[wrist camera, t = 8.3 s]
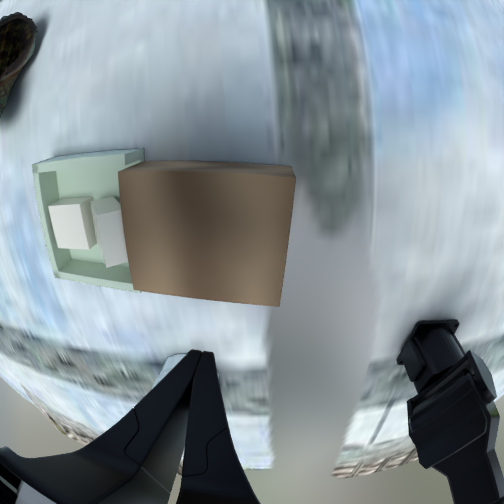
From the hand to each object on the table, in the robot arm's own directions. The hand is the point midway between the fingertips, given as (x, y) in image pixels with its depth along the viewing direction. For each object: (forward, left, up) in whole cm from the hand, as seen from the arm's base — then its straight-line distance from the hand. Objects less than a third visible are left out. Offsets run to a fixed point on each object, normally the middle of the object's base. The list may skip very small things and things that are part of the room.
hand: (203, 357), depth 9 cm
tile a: (+9, 0, -11) cm, 14 cm away
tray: (+13, 0, -13) cm, 18 cm away
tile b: (+14, 0, -10) cm, 18 cm away
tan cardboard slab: (+2, 0, -13) cm, 13 cm away
